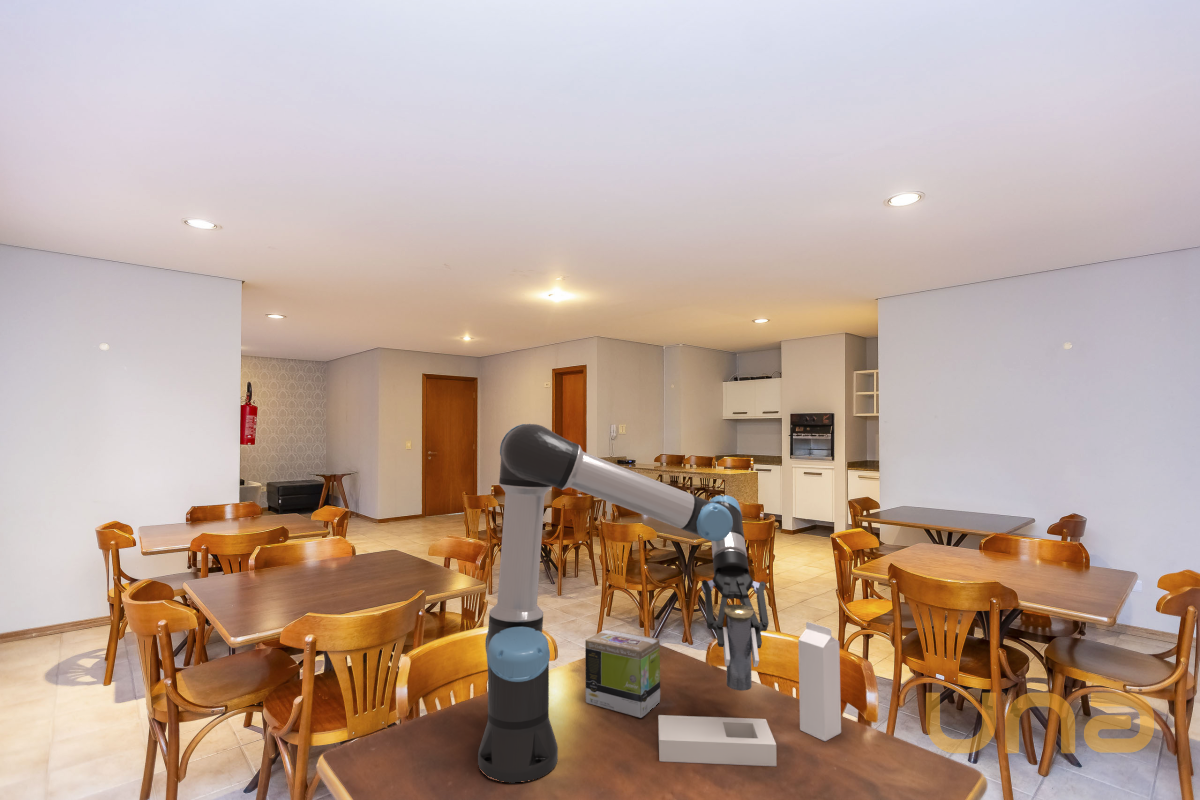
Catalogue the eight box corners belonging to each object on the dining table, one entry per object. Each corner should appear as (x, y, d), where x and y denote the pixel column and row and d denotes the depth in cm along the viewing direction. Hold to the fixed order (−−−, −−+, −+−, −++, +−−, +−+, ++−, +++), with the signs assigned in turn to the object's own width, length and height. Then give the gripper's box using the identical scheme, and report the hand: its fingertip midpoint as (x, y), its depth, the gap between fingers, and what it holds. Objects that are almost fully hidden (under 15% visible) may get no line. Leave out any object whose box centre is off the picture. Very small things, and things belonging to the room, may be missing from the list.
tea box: (661, 702, 139) (661, 638, 140) (640, 720, 131) (640, 651, 131) (606, 687, 147) (606, 626, 148) (583, 703, 139) (583, 638, 139)
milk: (825, 742, 122) (822, 632, 122) (799, 730, 126) (797, 624, 127) (841, 732, 125) (839, 626, 126) (816, 721, 130) (814, 618, 131)
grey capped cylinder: (726, 691, 116) (725, 612, 117) (722, 678, 122) (722, 604, 123) (756, 692, 116) (756, 613, 116) (751, 679, 121) (750, 604, 122)
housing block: (659, 761, 114) (659, 739, 115) (658, 734, 124) (658, 715, 125) (776, 766, 113) (776, 744, 113) (766, 738, 123) (765, 719, 123)
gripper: (768, 568, 134) (785, 673, 117) (688, 566, 136) (694, 669, 119) (773, 549, 129) (792, 655, 112) (690, 547, 131) (696, 652, 114)
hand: (741, 662), depth 115 cm, fingers closed on grey capped cylinder, 5 cm apart
